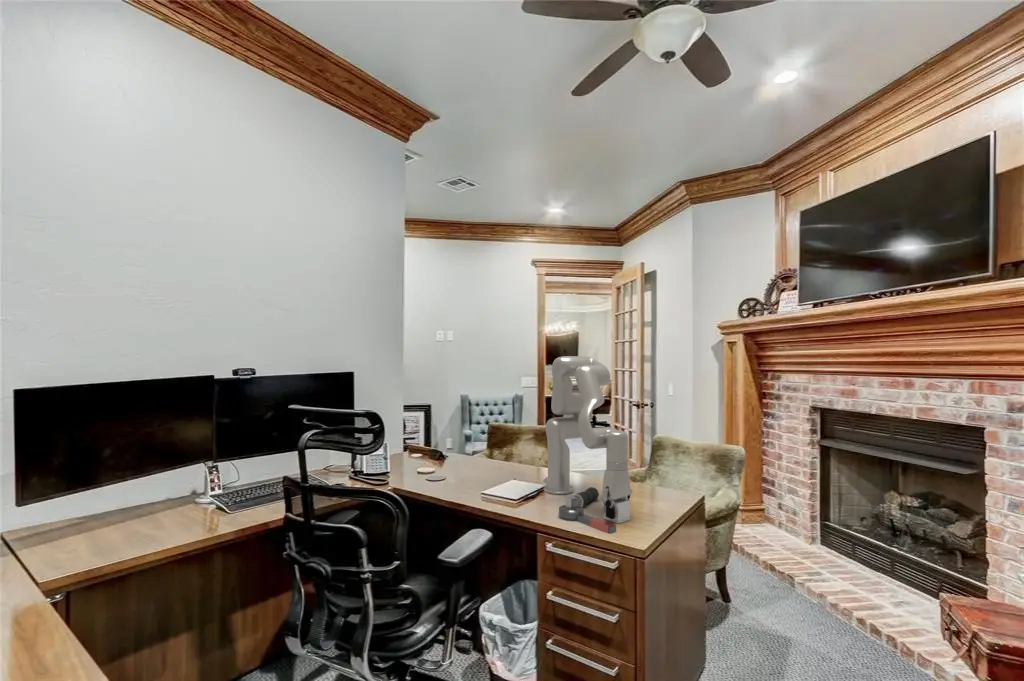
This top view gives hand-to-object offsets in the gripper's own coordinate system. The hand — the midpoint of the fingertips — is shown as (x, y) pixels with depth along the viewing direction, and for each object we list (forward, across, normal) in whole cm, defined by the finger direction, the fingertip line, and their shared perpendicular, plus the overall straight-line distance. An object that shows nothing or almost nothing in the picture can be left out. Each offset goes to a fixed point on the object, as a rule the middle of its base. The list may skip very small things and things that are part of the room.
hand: (616, 515), depth 173 cm
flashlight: (+2, -5, -20) cm, 21 cm away
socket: (+1, 0, 0) cm, 1 cm away
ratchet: (+1, +11, -4) cm, 12 cm away
